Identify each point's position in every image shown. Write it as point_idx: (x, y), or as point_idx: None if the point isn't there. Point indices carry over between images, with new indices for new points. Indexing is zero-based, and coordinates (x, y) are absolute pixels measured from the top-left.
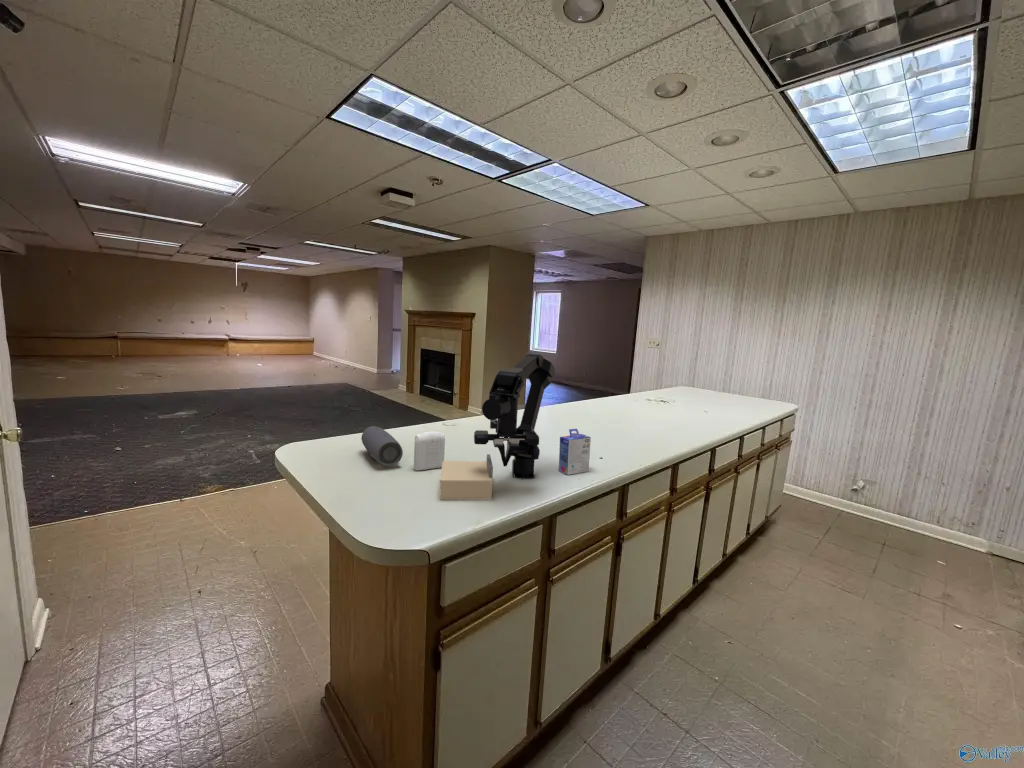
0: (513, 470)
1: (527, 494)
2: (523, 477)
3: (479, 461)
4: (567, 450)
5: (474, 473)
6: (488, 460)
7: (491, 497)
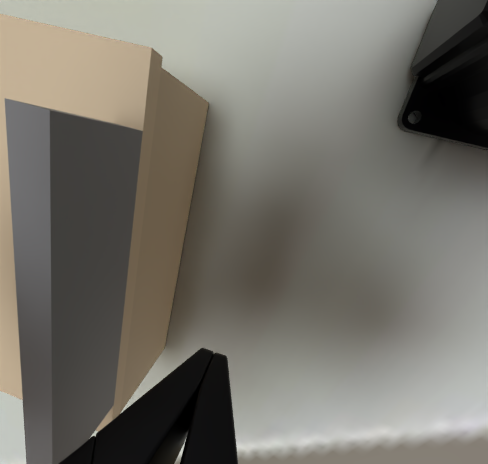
0: (427, 63)
1: (334, 358)
2: (459, 143)
3: (55, 32)
4: None
5: (17, 313)
6: (23, 342)
7: (159, 355)
